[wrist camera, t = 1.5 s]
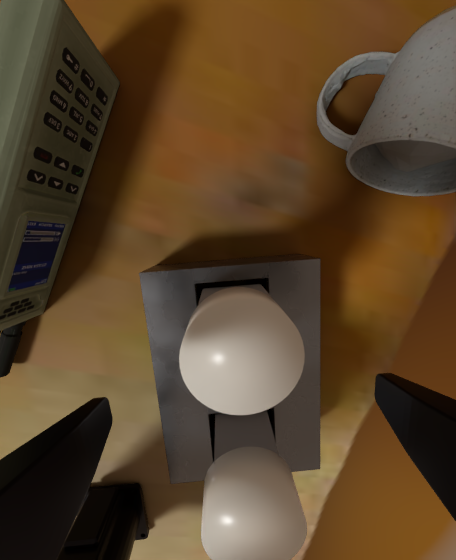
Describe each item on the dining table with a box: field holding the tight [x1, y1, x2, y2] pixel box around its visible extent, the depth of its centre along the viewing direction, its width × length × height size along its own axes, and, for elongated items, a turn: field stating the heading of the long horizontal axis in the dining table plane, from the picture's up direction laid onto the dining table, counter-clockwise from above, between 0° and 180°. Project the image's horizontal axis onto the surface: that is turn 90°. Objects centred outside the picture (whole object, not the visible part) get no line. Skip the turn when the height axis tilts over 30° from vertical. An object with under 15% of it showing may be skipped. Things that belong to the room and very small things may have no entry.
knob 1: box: [179, 284, 305, 415], centre depth 13 cm, size 6×6×6 cm
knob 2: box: [201, 410, 307, 560], centre depth 15 cm, size 6×6×6 cm
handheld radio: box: [0, 0, 120, 377], centre depth 16 cm, size 7×3×25 cm
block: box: [317, 6, 456, 196], centre depth 14 cm, size 10×8×7 cm
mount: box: [139, 254, 320, 484], centre depth 19 cm, size 17×12×4 cm
